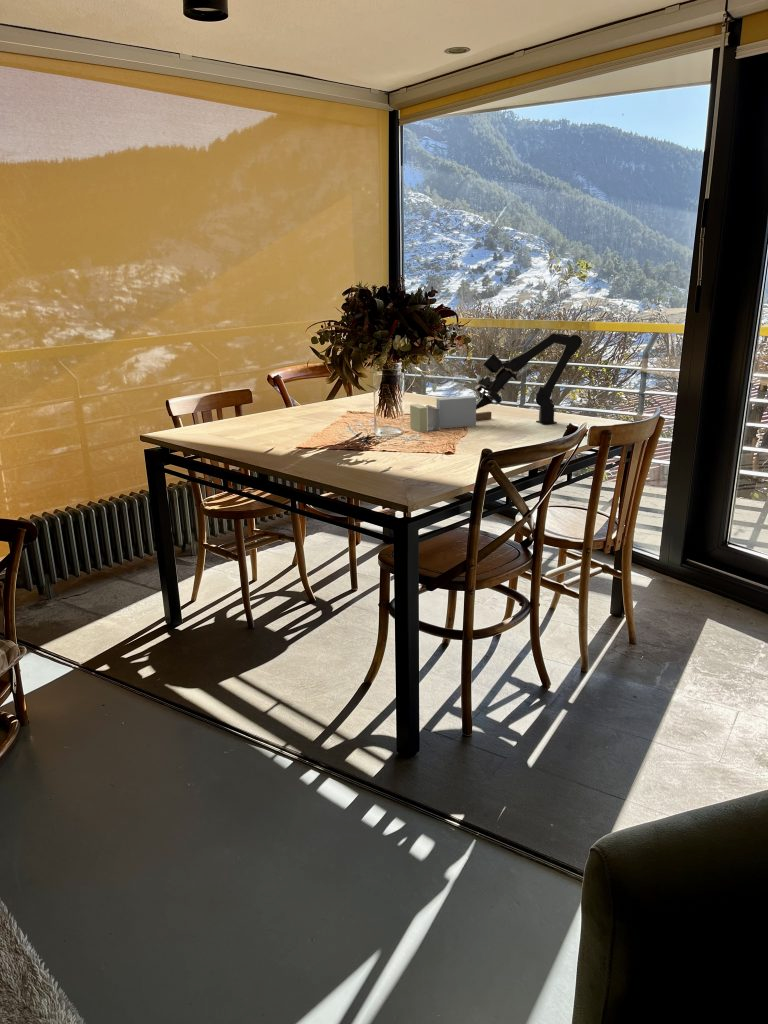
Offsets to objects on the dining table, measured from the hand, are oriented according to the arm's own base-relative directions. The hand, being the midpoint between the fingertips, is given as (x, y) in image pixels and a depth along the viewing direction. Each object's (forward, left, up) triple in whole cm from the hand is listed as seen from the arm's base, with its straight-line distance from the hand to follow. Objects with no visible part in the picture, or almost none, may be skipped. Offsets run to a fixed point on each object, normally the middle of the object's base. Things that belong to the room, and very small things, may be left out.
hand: (474, 408), depth 328 cm
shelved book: (+2, +26, -7) cm, 26 cm away
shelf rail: (+7, +3, -7) cm, 10 cm away
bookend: (+2, +22, -7) cm, 23 cm away
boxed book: (+1, +8, -7) cm, 11 cm away
